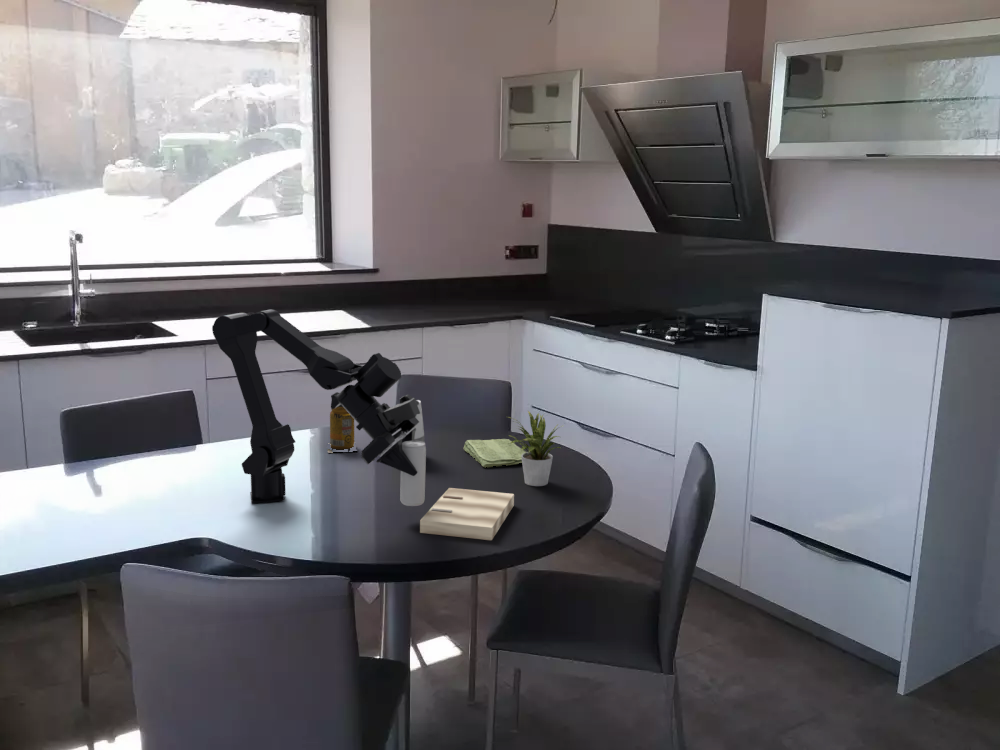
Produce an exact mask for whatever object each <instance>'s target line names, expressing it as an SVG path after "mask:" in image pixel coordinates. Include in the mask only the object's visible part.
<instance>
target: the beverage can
mask: <svg viewBox="0 0 1000 750" xmlns="http://www.w3.org/2000/svg"><path fill="white" fill-rule="evenodd" d="M402 450H403V451H404V453H405V454H406V456H407V457H408V459H409V460H410V461H411V463H412V464H413V466H414V467H415V469H416V470H417V472H418V473H417V474H416V475H415V476H412V475H409V474H407V473H405V472H403V471H400V486H399V487H400V490H399V491H400V493H399V497H400V498H399V500H400V502H401V504H402V505H404V506H406V507H417V506H421V505H423V504H424V502H425V498H426V497H425V495H426V494H425V493H426V491H425V490H426V468H427V466H426V462H427V456H426V455H427V447H426V442H425V441H424V442H421V441H406V442H403V443H402Z"/></svg>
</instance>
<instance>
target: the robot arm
mask: <svg viewBox="0 0 1000 750" xmlns="http://www.w3.org/2000/svg"><path fill="white" fill-rule="evenodd" d="M211 330H212V335H213V337H214V339H215V342H216V343H217V345H218V348H219V349H220V350H221V352H223V353H224V355H225V356H227V358H229V359H230V361H231V364H232V367H233V369H234V373H235V376H236V378H237V382H238V385H239V388H240V392H241V395H242V397H243V401H244V405H245V406H246V410H247V412H248V415H249V419H250V422H251V426H252V428H251V435H250V440H249V441H250V442H249V443H250V449H251V453H250V454H249V455H248V457H247V458H246V459H245V460H244V461H242V463H241V467H242V470H243V472H244V474H245V475H250V492H249V493H250V501H251V504H262V503H264V504H265V503H273V502H274V503H275V502H277V503H278V502H283V501H284V500H285V498H284V497H285V496H286V493H287V492H286V475H285V473H283V470H282V469H283V467H287V466H288V464H289V461H290V460H291V458H292V457H293V454H294V452H295V443H296V440H295V438H294V436H293V434H292V429H291V426H290V424H288V423H287V424H284V425H283V424H282V423H281V422H280V421H279V420H278V418H277V417H276V414H275V411H274V408H273V404H272V401H271V398H270V395H269V392H268V389H267V386H266V385H267V384H266V383H265V380H264V377H263V374H262V371H261V370H262V369H261V367H260V364H259V361H258V358H257V357H258V356H257V355H256V354H257V353H256V351H257V344H258V340H259V339H258V332H262V333H263V334H265V336H267V337H269V338H270V339H271V340H272V341H274V342H275V343H276V344H278V345H279V346H280V347H281V348H283V349H284V350H285V351H287V352H288V353H289V354H291V355H292V356H293V357H294V358H296V359H297V360H298V361H300V362H301V363H302V364H303V365H304V366H305V367H306V368H307V370H308V373H309V376H310V377H311V378H312V379H313V380H314V381H315V382H316V383H317V384H318V386H320V388H322V389H324V390H326V391H331V390H336V389H339V388H341V387H343V386H344V388H343V389H342V390H341V391H340V392H334V393H332V394H331V396H330V398H331V402H330V410H331V409H334V408H336V407H338V406H339V405H342V406H343V407H344V408H345V409H346V410H347V412H348V413H349V414H350V415H351V416H352V417H353V418H354V421H355V422H356V423H357V425H356V429H357V430H358V431H361V430H363V431H364V432H365V434H367V435H368V436H369V437H370V438H371V441H370V442H369V443H368V444H367V445H366V446H365V447H364V448H363V449H362V450H360V451H361V452H360V453H361V459H362V460H363V461H364V462H365V463H366V464H367V465H370V464H371V463H373V461H374V460H375V459H376V458H377V457H379V458H378V459H377V460H376V461H375V462H376V463H377V464H379V463H381V464H383V465H386V466H389V467H390V468H394V469H395V470H399V471H400V472H401V471H403V472H405V473H407V474H409V475H412V476H415V475H416V474H417V473H418V472H417V470H416V469H415V467H414V466H413V464H412V463H411V461H410V460H409V459H408V457H407V456H406V454H405V453H404V451H403V450H402V443H403V442H406V441H415V440H414V438H415V431H416V428H414V427H415V426H416V425H417V424H418V423H419V421H418V420H417V419H416V415H417V414H420V411H419V408H418V405H419V402H418V401H416V400H417V399H416V397H413V396H412V395H411V394H406V395H403V396H401V398H399V403H397V404H396V405H394V406H392V407H391V406H389V405H388V403H385V402H383V403H382V404H381V403H380V402H379V401H378V400H377V398H381V397H382V396H384V395H385V393H387V392H388V391H389V390H390V389H391V388H392V387H394V385H395V384H396V383H397V382H398V381H399V380H400V379H401V378H402V372H401V369H400V368H399V366H398V365H397V364H396V363H395V362H393V361H392V360H390V358H387V357H385V356H383V355H382V354H381V353H380V352H376V353H373V354H372V355H371V356H370V358H369V359H368V361H367V362H366V363H365V364H364V365H361V364H357V363H355V362H353V360H351V359H350V358H349V357H347V356H346V355H344V354H341V353H340V352H337V351H335V350H332V349H328V348H325V347H323V346H321V345H319V344H318V343H317V342H316V341H314V339H311V338H310V337H309V336H308V335H307V334H305V333H303V332H302V331H301V330H300V329H299V328H298V327H296V326H295V325H293V324H292V323H290V321H288V320H287V319H285V318H284V317H283V316H281V314H280V312H279V311H277V310H275V309H267V310H260V311H257V312H256V313H252V314H248V313H245V312H239V313H238V312H237V313H232V314H227V315H219V317H217V318H216V319H215V320H214V323H213V325H212V328H211ZM354 381H357V382H356V383H354V384H351V383H352V382H354ZM412 428H414V429H413V430H412V431H411V432H410V430H411V429H412Z"/></svg>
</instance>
